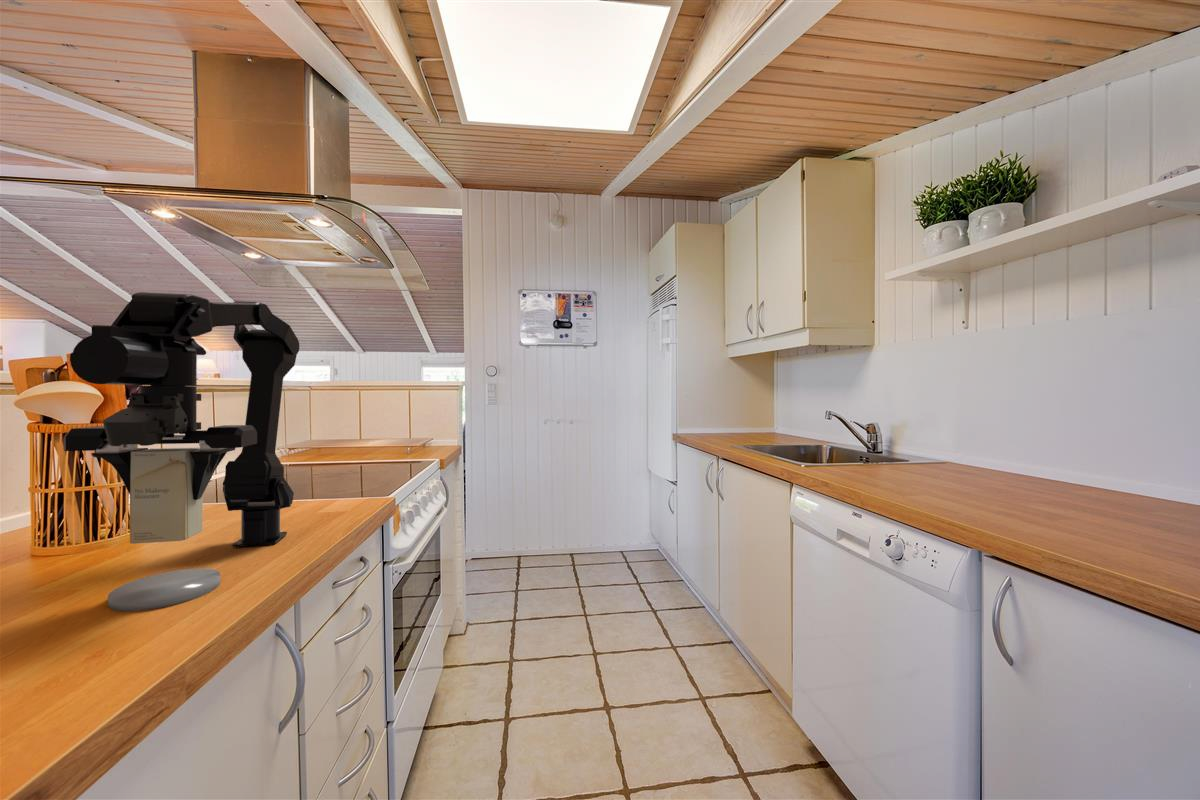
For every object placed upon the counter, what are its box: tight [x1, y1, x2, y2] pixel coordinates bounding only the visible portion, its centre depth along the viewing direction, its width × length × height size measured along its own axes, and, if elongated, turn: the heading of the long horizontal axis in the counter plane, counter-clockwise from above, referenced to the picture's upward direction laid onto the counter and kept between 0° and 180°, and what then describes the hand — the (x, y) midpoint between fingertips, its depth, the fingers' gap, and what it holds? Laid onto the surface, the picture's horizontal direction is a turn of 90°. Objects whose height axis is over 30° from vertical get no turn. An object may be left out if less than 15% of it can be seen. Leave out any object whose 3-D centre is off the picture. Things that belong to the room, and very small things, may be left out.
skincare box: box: [129, 446, 203, 545], centre depth 62 cm, size 6×4×12 cm
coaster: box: [107, 567, 221, 612], centre depth 62 cm, size 11×11×1 cm
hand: (168, 500), depth 62 cm, fingers closed on skincare box, 6 cm apart
